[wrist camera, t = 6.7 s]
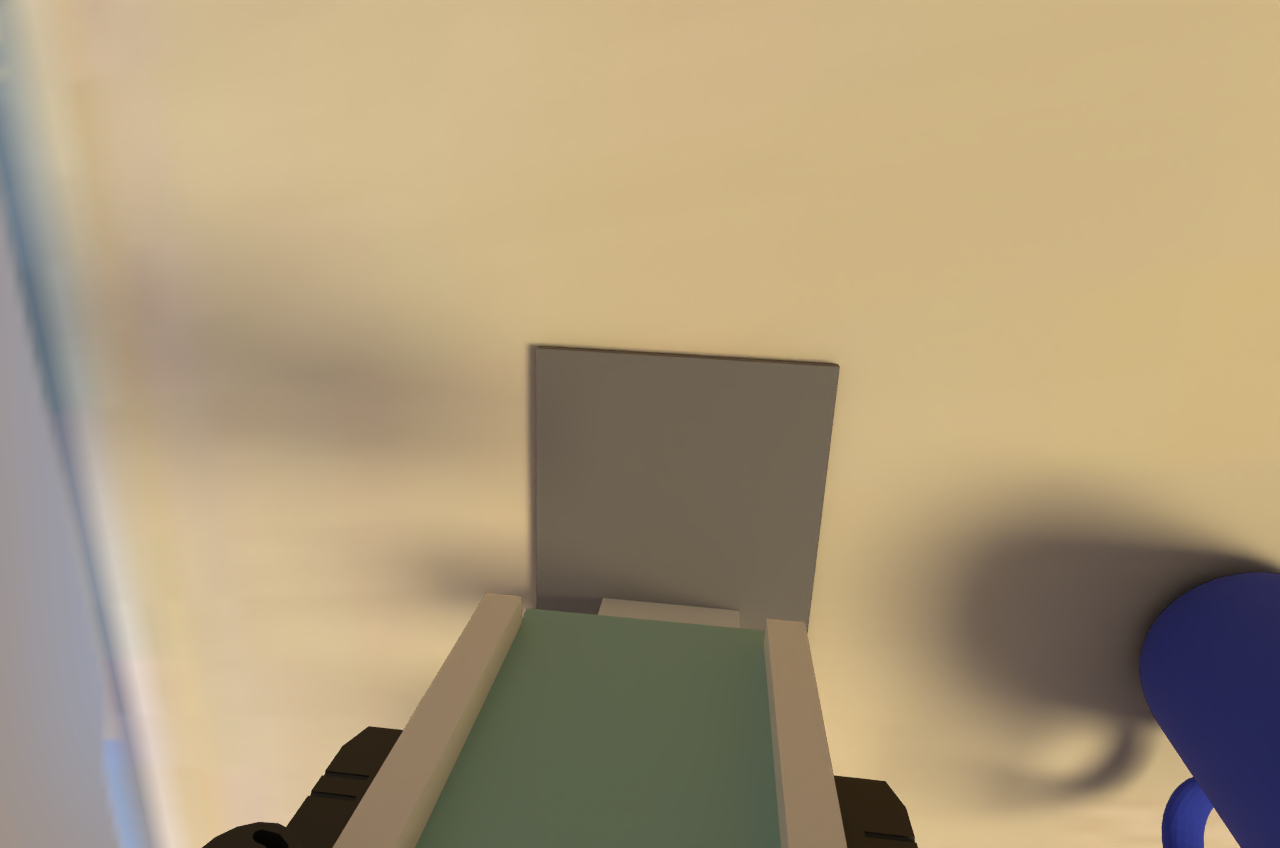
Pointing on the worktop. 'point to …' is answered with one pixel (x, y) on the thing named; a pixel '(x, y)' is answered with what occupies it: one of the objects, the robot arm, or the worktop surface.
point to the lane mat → (680, 480)
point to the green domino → (617, 741)
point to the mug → (1220, 706)
